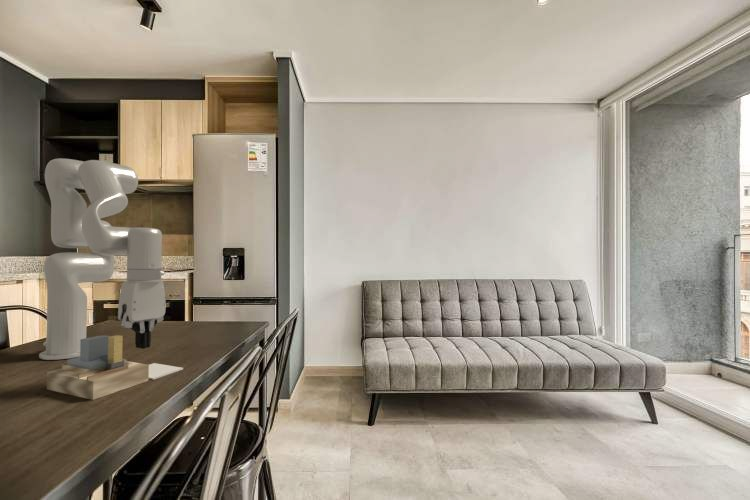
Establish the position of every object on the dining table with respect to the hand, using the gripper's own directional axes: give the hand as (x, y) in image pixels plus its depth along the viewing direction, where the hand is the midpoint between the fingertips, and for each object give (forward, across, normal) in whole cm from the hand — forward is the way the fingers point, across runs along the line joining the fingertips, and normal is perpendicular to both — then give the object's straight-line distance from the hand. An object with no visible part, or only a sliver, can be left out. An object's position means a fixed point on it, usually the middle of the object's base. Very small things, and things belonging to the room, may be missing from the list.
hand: (142, 347), depth 94 cm
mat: (+8, -4, -2) cm, 9 cm away
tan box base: (+8, +8, -5) cm, 12 cm away
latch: (+4, +7, -1) cm, 8 cm away
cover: (+4, +7, -7) cm, 11 cm away
